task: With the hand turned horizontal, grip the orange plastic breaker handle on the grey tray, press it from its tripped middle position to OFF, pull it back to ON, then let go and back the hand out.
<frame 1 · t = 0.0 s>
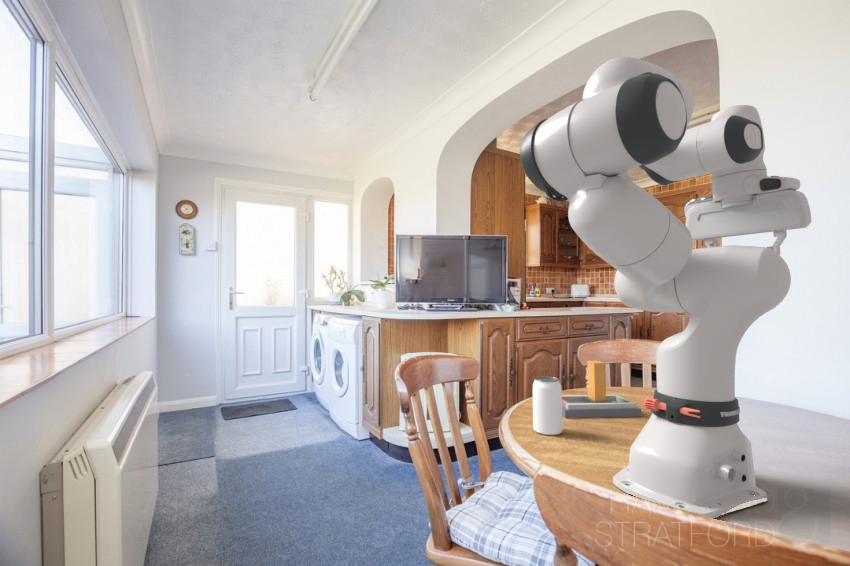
hand: (744, 257, 81), 39 cm above the table, tool pointing down, fingers open, 8 cm apart
can: (547, 432, 91), on the table
breaker handle: (596, 382, 107), point 8 cm above the table, slide at 4.0 cm
grey tray: (593, 411, 107), on the table
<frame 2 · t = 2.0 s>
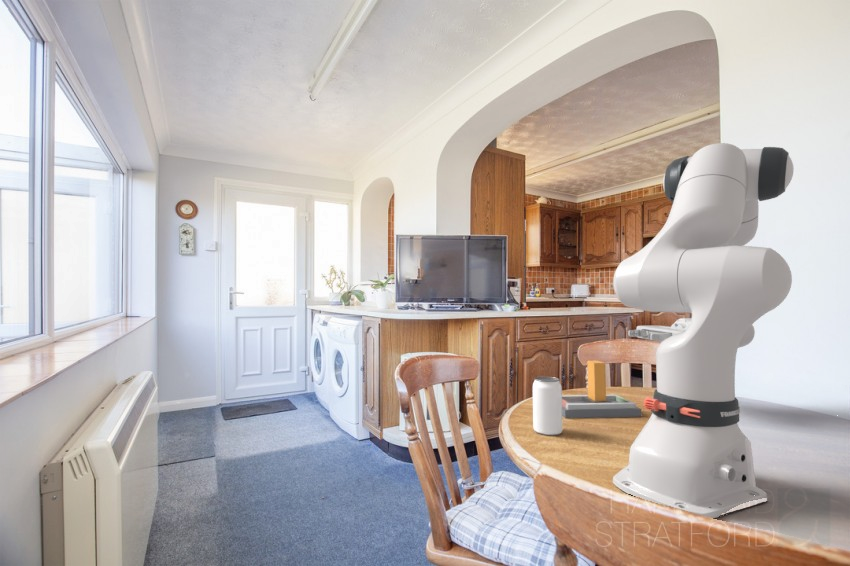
hand: (639, 335, 108), 20 cm above the table, tool horizontal, fingers open, 8 cm apart
nothing on the table moved.
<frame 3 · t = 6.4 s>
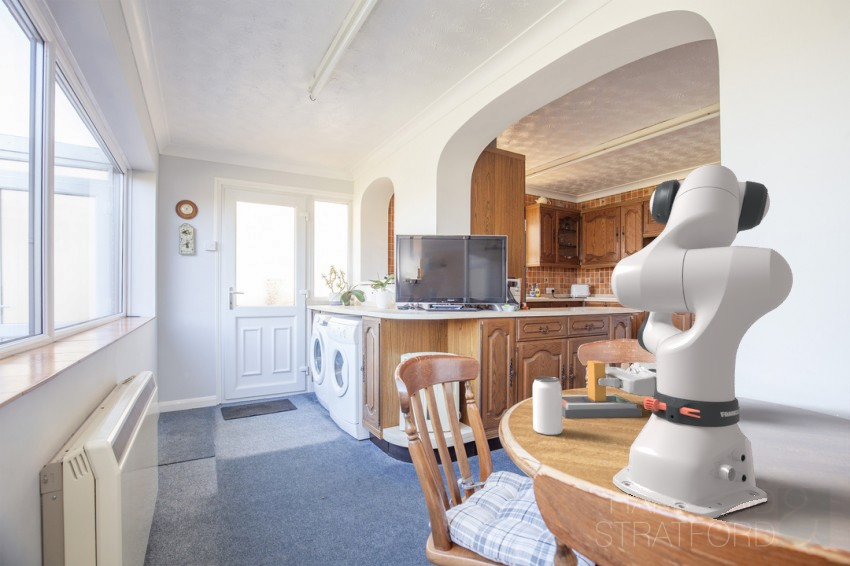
hand: (593, 379, 107), 9 cm above the table, tool horizontal, fingers closed on breaker handle, 4 cm apart
breaker handle: (596, 382, 107), point 8 cm above the table, slide at 4.0 cm, touching gripper
everything else where it was.
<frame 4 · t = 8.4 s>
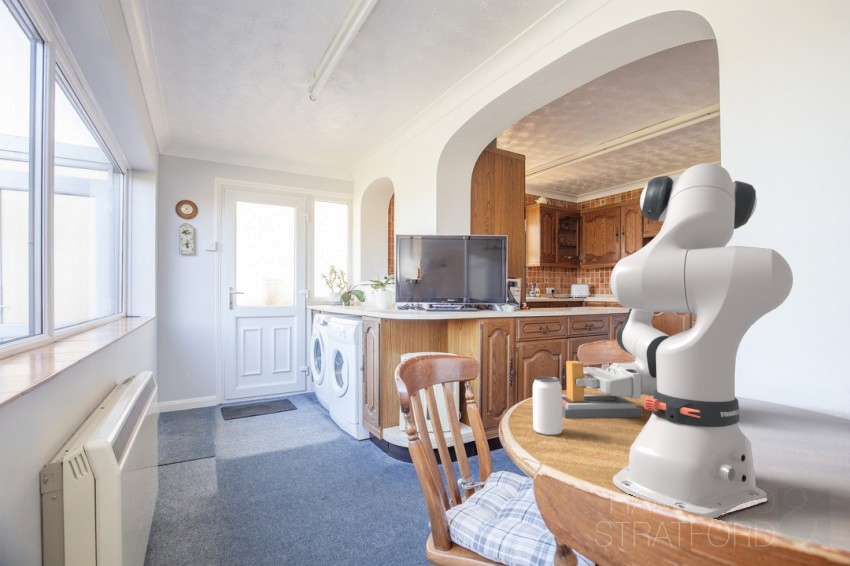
hand: (571, 379, 107), 9 cm above the table, tool horizontal, fingers closed on breaker handle, 4 cm apart
breaker handle: (575, 382, 107), point 8 cm above the table, slide at 10.0 cm, touching gripper
everything else where it was.
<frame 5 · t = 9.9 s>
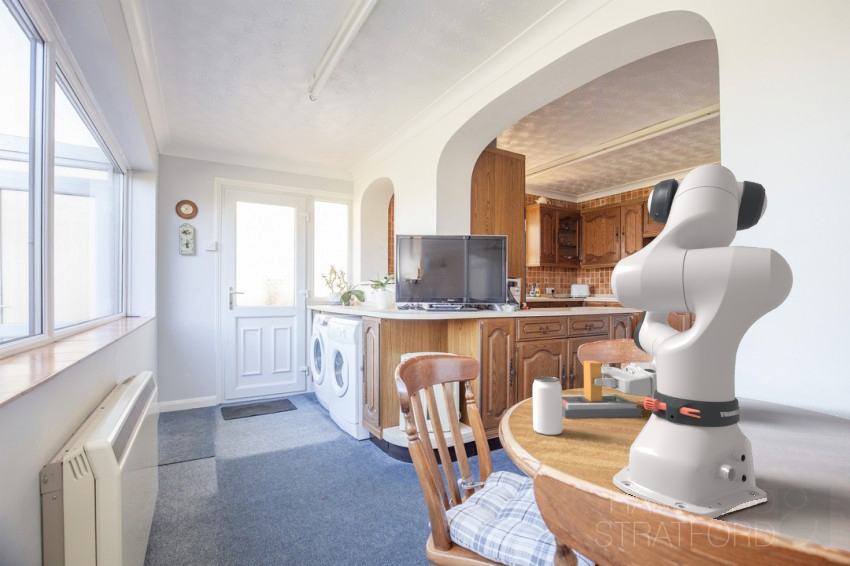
hand: (589, 379, 107), 9 cm above the table, tool horizontal, fingers closed on breaker handle, 4 cm apart
breaker handle: (592, 382, 107), point 8 cm above the table, slide at 5.1 cm, touching gripper
everything else where it was.
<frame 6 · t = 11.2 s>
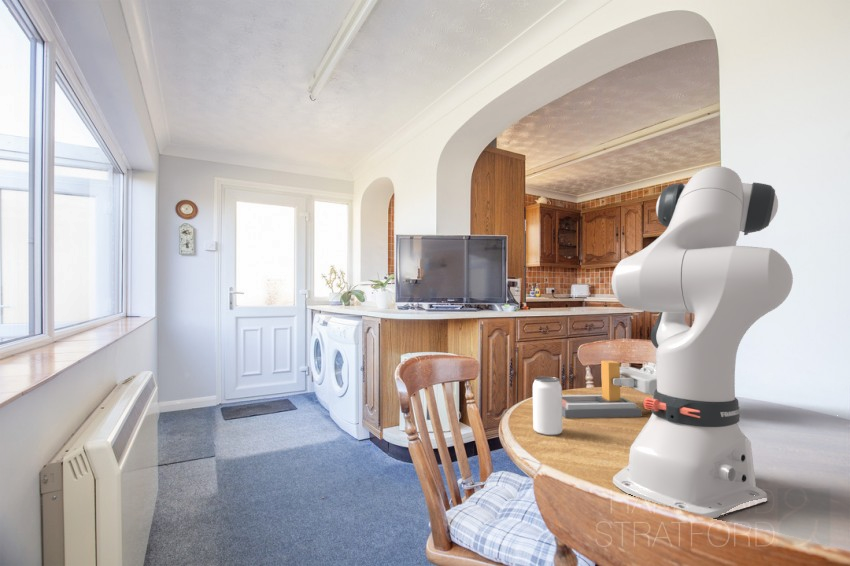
hand: (607, 379, 107), 9 cm above the table, tool horizontal, fingers closed on breaker handle, 4 cm apart
breaker handle: (610, 382, 107), point 8 cm above the table, slide at 0.1 cm, touching gripper
everything else where it was.
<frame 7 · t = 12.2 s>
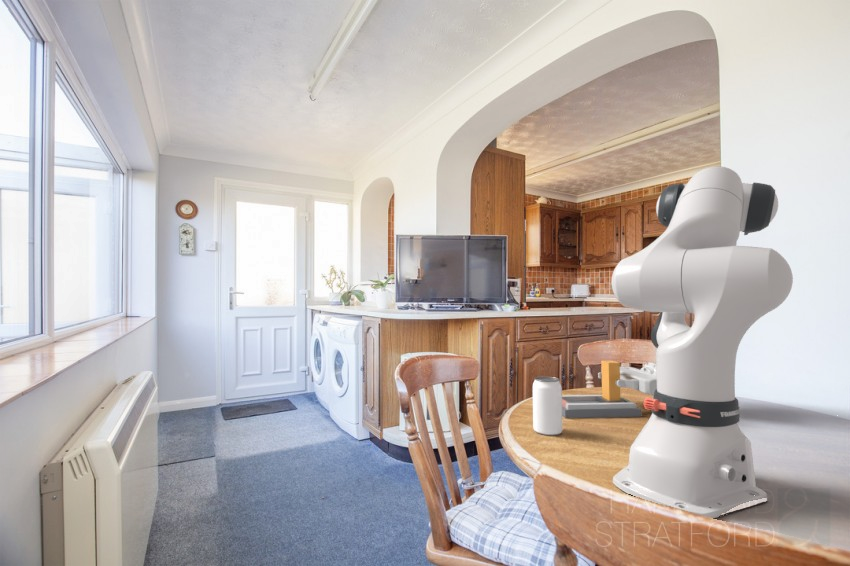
hand: (607, 379, 107), 9 cm above the table, tool horizontal, fingers open, 8 cm apart
breaker handle: (610, 382, 107), point 8 cm above the table, slide at 0.1 cm
everything else where it was.
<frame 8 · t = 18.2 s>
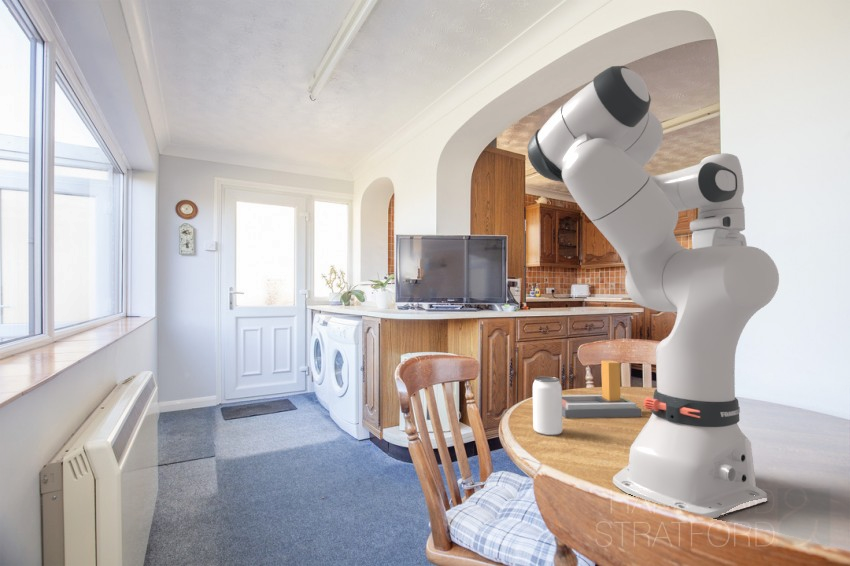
hand: (722, 282, 93), 34 cm above the table, tool pointing down, fingers open, 8 cm apart
nothing on the table moved.
at the end: breaker handle slide at 0.1 cm; the gripper is holding nothing; can moved 0.2 cm from its start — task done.
